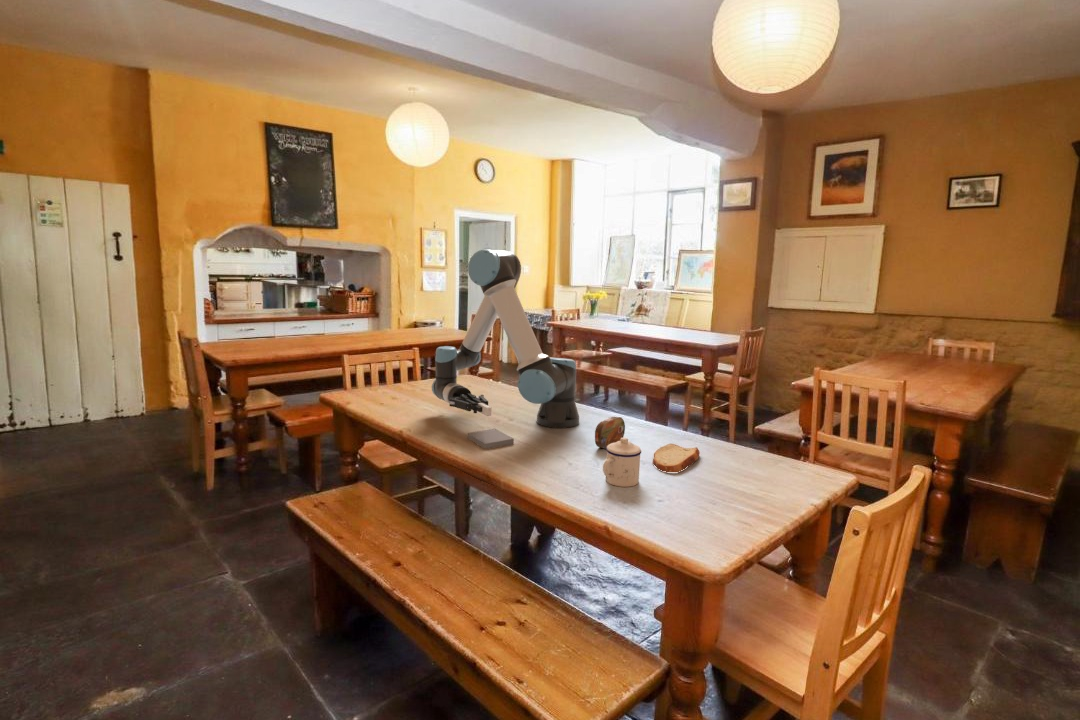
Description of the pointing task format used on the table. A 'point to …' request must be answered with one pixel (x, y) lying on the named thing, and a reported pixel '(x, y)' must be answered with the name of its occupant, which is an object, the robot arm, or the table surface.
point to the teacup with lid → (622, 463)
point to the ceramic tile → (490, 438)
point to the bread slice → (674, 457)
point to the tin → (609, 431)
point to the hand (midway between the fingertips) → (489, 411)
